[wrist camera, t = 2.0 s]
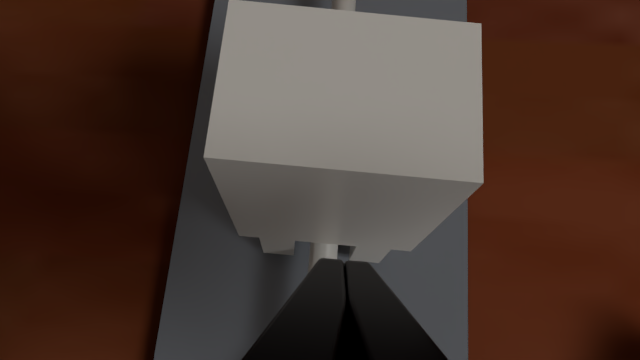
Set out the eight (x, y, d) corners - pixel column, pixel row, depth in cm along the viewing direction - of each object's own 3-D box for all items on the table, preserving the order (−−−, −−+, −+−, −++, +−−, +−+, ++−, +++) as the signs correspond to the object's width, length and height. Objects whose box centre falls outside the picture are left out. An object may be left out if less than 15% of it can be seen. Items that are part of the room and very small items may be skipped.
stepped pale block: (396, 264, 22) (483, 183, 12) (245, 251, 22) (203, 157, 12) (400, 170, 23) (481, 23, 13) (257, 157, 23) (228, -1, 13)
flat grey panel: (460, 488, 21) (510, 528, 16) (142, 462, 20) (96, 493, 16) (460, -64, 29) (493, -148, 24) (234, -87, 29) (222, -176, 24)
